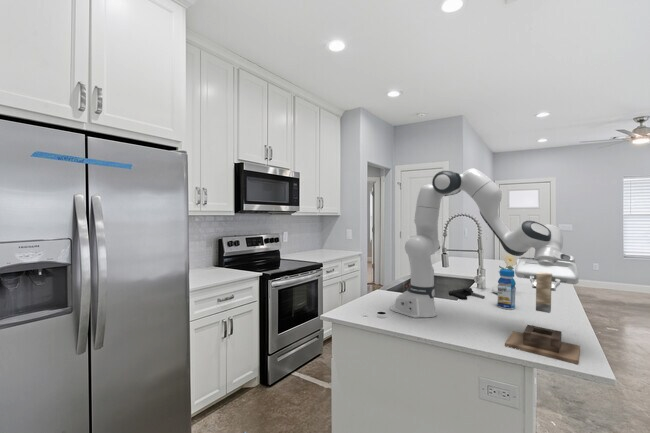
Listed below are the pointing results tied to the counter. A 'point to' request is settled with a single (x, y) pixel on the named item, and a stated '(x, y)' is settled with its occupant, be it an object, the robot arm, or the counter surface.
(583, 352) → the counter surface
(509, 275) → the beverage bottle
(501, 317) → the counter surface
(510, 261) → the flower in vase
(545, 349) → the square hole base plate
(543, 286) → the upright wooden square peg
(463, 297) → the door handle
